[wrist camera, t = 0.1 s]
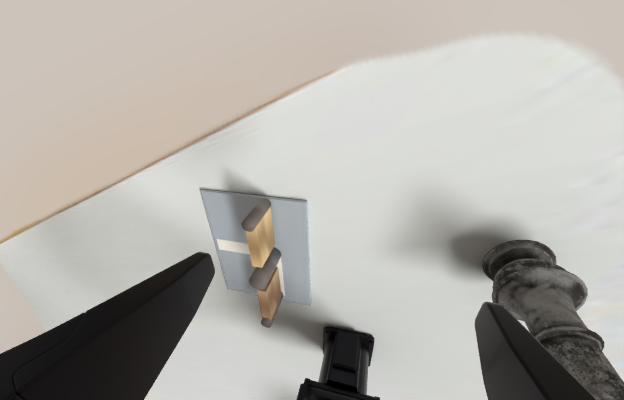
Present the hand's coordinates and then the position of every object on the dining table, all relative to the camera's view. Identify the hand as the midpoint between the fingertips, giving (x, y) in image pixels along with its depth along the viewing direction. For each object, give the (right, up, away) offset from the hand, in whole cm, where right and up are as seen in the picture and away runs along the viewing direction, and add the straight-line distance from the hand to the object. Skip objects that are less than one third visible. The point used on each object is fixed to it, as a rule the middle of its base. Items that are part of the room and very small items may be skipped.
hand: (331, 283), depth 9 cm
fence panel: (-5, +1, +18) cm, 18 cm away
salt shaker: (+18, -3, +14) cm, 23 cm away
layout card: (-6, -3, +21) cm, 22 cm away
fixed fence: (-5, -6, +22) cm, 23 cm away
